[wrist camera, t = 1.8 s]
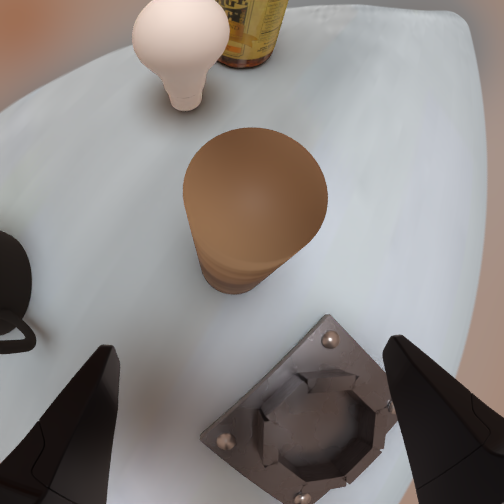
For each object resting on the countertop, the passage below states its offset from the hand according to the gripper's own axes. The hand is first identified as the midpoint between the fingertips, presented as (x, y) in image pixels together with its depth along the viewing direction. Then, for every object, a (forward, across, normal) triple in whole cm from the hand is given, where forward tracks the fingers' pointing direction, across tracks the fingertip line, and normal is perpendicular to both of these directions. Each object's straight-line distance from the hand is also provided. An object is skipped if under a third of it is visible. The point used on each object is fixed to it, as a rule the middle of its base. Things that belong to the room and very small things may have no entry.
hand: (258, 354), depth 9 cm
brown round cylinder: (+12, 0, +5) cm, 12 cm away
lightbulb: (+21, +4, -4) cm, 22 cm away
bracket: (+3, -5, +13) cm, 14 cm away
